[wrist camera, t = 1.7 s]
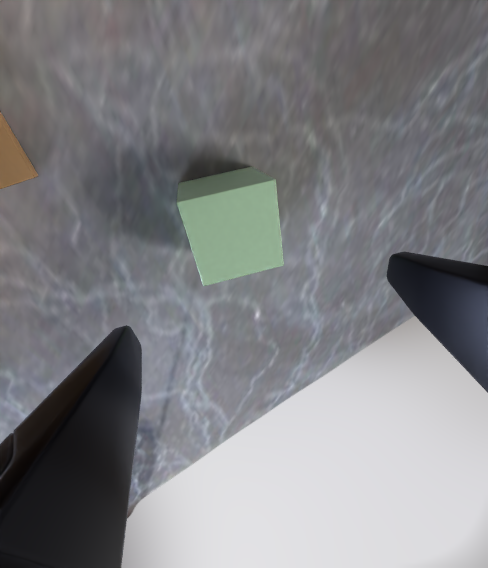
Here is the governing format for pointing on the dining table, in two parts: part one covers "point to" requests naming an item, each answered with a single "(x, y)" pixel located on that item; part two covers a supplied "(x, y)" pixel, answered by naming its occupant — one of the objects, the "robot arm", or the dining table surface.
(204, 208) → the block
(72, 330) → the dining table surface
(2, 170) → the carton
